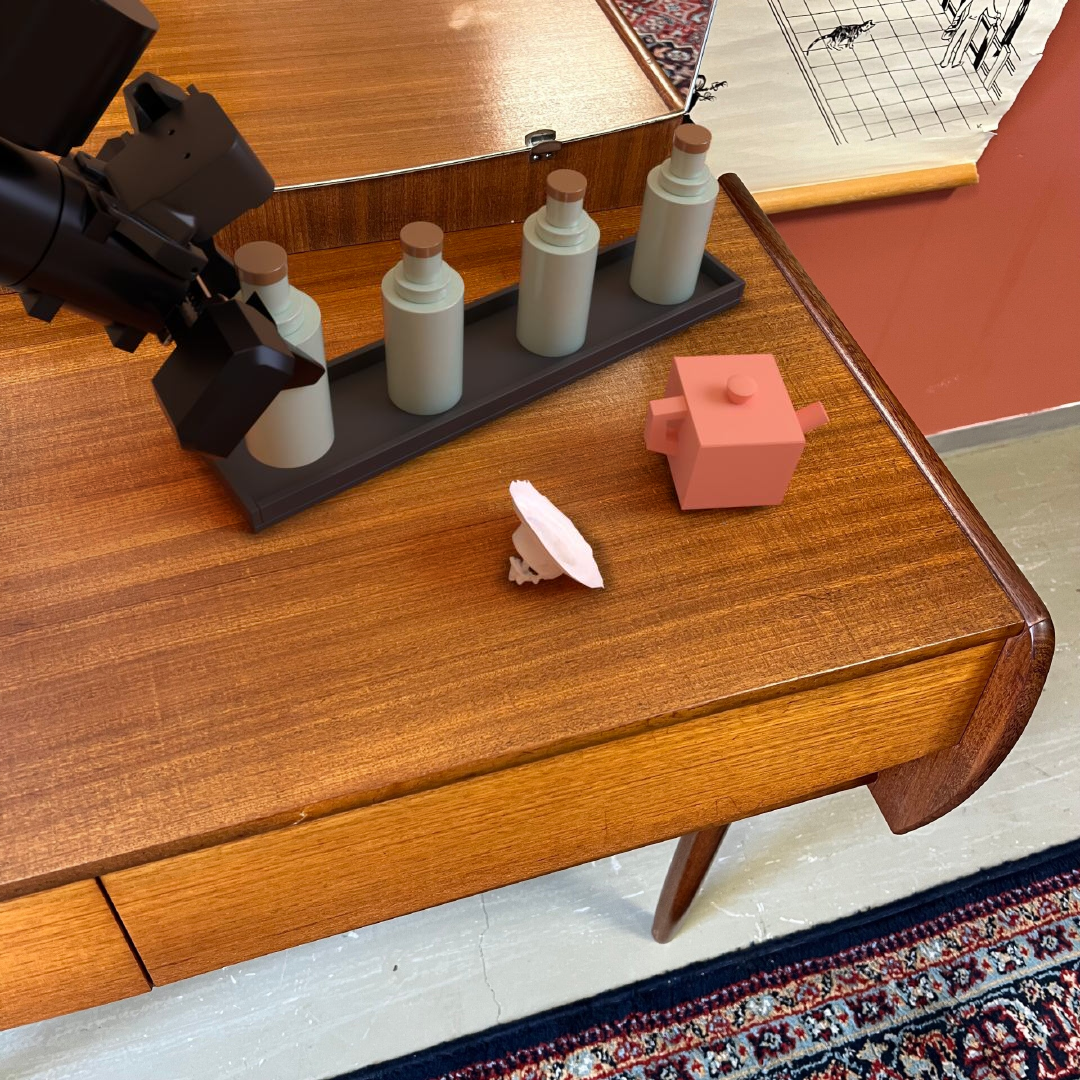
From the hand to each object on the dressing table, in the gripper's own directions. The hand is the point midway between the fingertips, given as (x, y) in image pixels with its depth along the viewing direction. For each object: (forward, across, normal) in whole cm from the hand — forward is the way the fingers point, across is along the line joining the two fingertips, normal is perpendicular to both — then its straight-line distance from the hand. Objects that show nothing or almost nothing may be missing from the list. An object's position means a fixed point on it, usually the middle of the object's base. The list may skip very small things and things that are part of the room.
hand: (299, 344), depth 55 cm
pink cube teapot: (+26, -11, -9) cm, 29 cm away
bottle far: (+31, +7, -14) cm, 34 cm away
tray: (+20, +5, -2) cm, 20 cm away
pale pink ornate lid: (+16, -12, +2) cm, 20 cm away
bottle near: (+15, +5, +1) cm, 16 cm away
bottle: (+4, 0, +6) cm, 7 cm away
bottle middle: (+23, +6, -7) cm, 25 cm away
